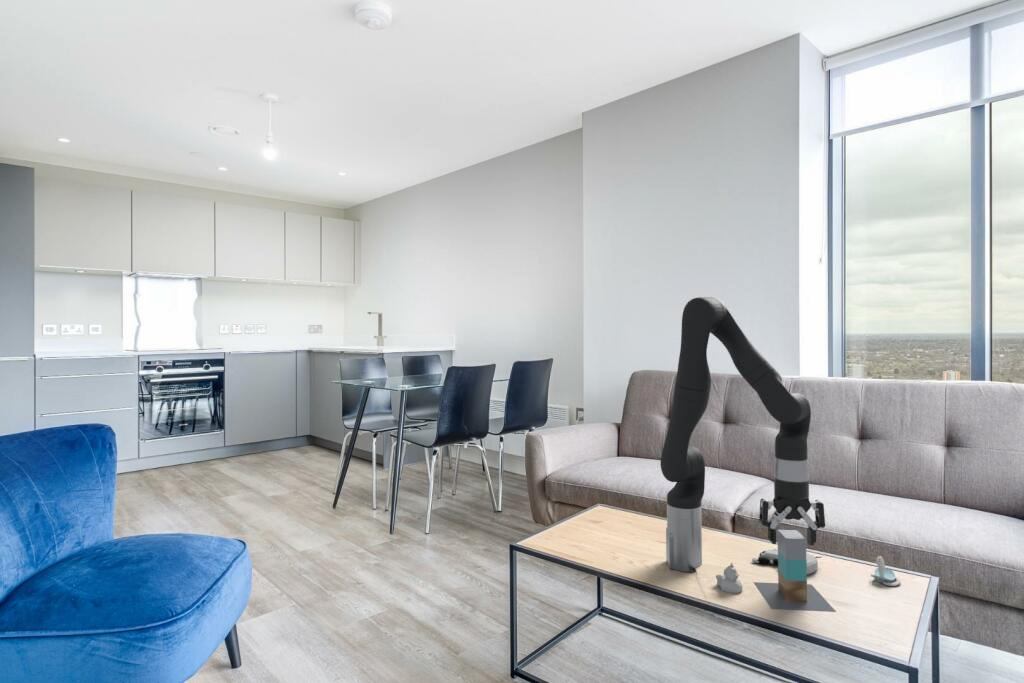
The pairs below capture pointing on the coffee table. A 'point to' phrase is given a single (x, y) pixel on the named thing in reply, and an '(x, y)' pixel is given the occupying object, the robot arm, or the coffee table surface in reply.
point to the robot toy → (772, 558)
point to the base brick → (792, 589)
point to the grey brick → (792, 544)
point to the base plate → (779, 602)
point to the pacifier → (884, 573)
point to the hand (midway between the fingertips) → (791, 543)
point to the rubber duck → (729, 580)
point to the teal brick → (792, 568)
